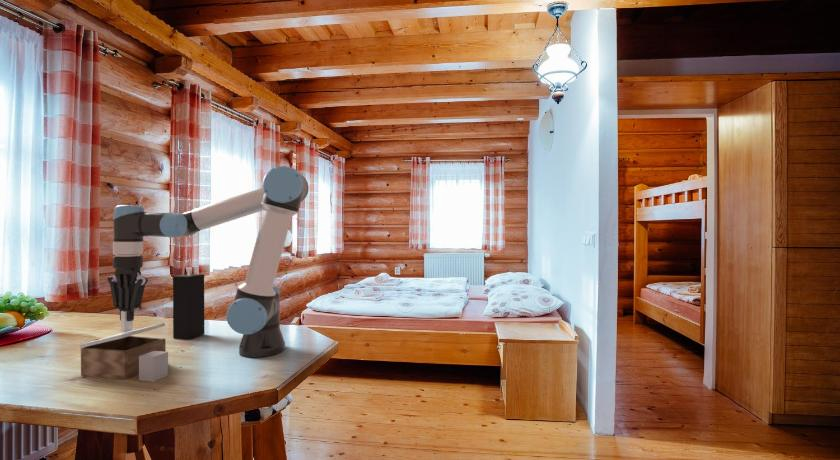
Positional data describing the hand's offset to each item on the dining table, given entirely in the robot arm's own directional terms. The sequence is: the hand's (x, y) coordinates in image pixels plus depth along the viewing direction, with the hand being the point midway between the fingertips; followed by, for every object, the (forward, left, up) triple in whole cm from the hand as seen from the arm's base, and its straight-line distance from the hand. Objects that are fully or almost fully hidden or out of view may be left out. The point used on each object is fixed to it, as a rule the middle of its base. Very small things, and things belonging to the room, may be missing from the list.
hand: (126, 331), depth 122 cm
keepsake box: (+1, 0, -12) cm, 12 cm away
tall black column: (+10, -35, -12) cm, 38 cm away
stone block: (-14, +4, -12) cm, 19 cm away
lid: (+1, 0, -2) cm, 2 cm away
